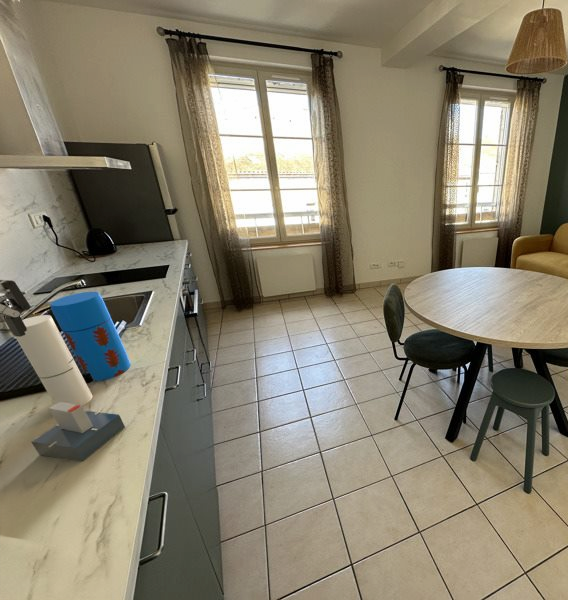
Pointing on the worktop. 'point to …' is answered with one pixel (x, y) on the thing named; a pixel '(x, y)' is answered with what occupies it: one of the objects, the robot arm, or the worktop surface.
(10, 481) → the worktop surface
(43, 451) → the block
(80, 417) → the tap handle
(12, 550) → the worktop surface
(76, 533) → the worktop surface
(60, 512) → the worktop surface
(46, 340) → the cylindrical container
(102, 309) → the thermos
